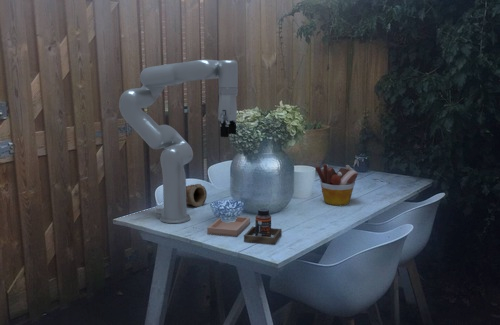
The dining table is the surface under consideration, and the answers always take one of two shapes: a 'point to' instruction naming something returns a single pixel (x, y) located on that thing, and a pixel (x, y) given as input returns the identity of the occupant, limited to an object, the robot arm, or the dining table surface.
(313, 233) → the dining table surface
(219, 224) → the tray
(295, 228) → the dining table surface
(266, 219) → the supplement bottle
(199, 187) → the clay pipe
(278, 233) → the frame
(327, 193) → the bucket of meat
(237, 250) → the dining table surface
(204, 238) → the dining table surface
